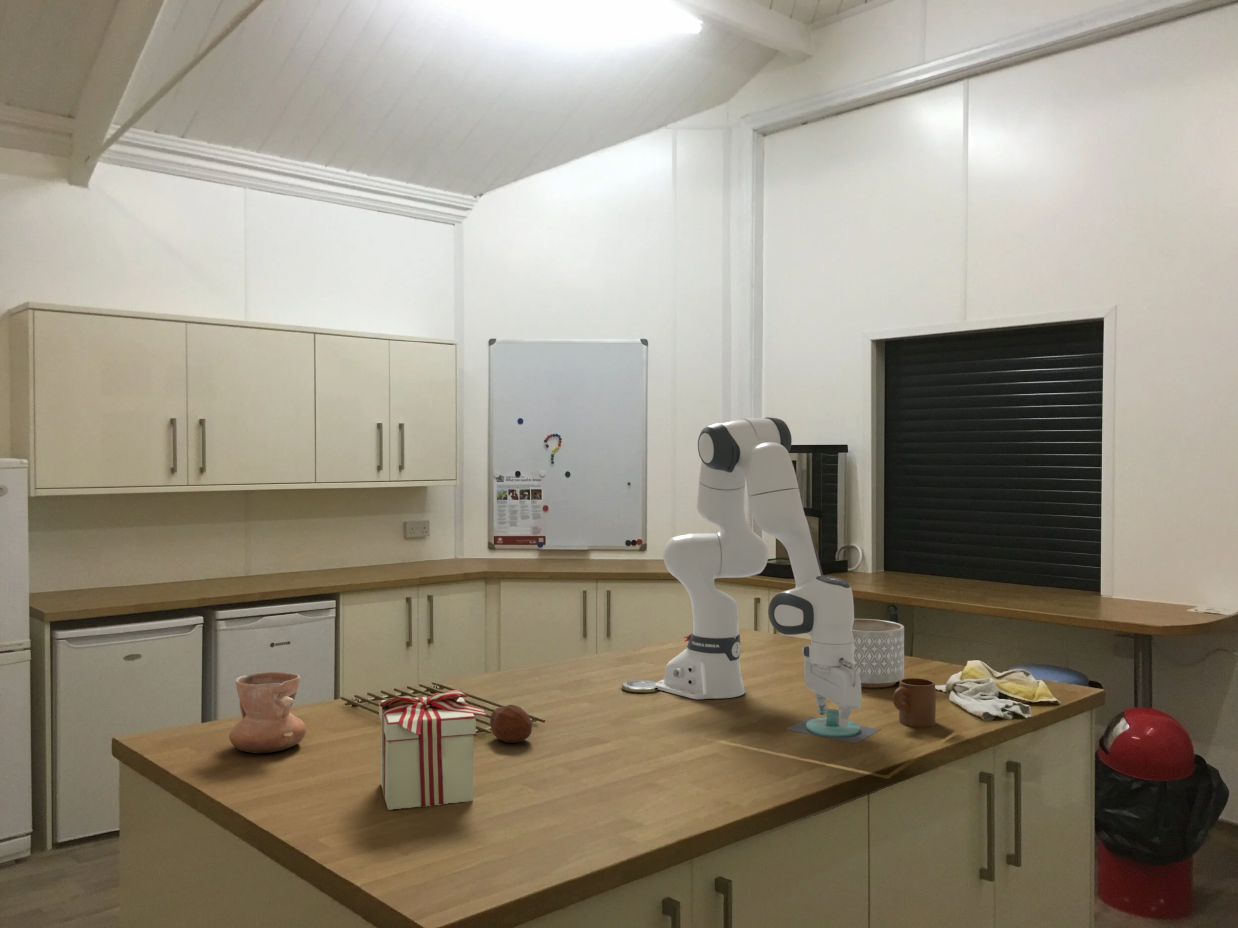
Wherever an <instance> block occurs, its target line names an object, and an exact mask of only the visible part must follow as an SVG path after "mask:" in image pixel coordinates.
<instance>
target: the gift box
mask: <svg viewBox="0 0 1238 928" xmlns="http://www.w3.org/2000/svg"><path fill="white" fill-rule="evenodd" d="M464 698H468V694H466V693H464V692H463V691H461V690H458V689H453V690H449V691H447V692H444V693H439V692H436V693H434V694H433V695H431V696H422V697H421V696H418V697H417V696H416V697H413V696H409V695H408V696H400V697H394V698H389V699H383V700H382V699H381V700H379V701H378V702H379V703H378V704H379V705H378V706H379V707H378V717H379V720H380V768H379V769H380V775H379V776H380V778H379V779H380V786H381V790H382V795H383V798H384V800H385V804H386V808H387V810H388V811H394V810H393V809H399V810H402V809H401V808H409V807H419V808H421V807H420V806H429V807H431V806H430V805H438V806H440V805H439V804H446V805H449V804H448V803H456V804H460V803H459V802H464V803H471V802H470V801H472V802H474V735H476V733H477V729H476V728H477V723H476V721H477V720H476V716H484V717H485V716H487V714H486V712H485V711H484V709H483V708H481V707H478V706H474V705H470V704H468V703H467V702H466V700H465V699H464ZM409 809H410V808H409Z"/></svg>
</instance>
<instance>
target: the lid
mask: <svg viewBox="0 0 1238 928" xmlns="http://www.w3.org/2000/svg"><path fill="white" fill-rule="evenodd" d="M839 714H840V710H839V709H836V708H828V710H827V715H826V717H819V718H818V717H816V718H817V719H812V720H809V721H807V723H806V729H807V730H808V731H809V732H811V733H813V734H817V735H821V736H828V737H848V736H854V735H856V734H858V733H859V732H860V726H861V725H860V724H859V723H857V722H856V721H852V720H849V719H848V726H847V727H841V726H839V725H838V724H837V717H839Z"/></svg>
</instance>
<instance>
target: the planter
mask: <svg viewBox="0 0 1238 928" xmlns="http://www.w3.org/2000/svg"><path fill="white" fill-rule="evenodd" d="M852 634H853V637H854V668H855V670H856V671H857V672H858V673H859V676H860V681H861V688H886V687H892V686H894V685H896V683H897V682H900V680H902V679H905V626H904V625H903V624H901V623H898V622H895V621H890V620H883V619H882V620H881V619H876V618H875V619H874V618H873V619H872V618H854V623H853V626H852Z"/></svg>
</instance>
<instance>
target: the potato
mask: <svg viewBox="0 0 1238 928" xmlns="http://www.w3.org/2000/svg"><path fill="white" fill-rule="evenodd" d="M489 723H490V728H491V731H492V734H493V735H494V737H495V738H497V739H498V740H500V741H503V742H505V743H508V744H509V743H510V744H515V743H520V742H523V741H525V740H526V739H528V738H529V737H530V736H531V733H532V730H533V729H532V728H533V724H532V719H531V718H530V716H529V714H528V713H527V712H526V710H525V709H523V708H522V707H520V706H519V705H515V704H506V705H505V706H500V707H496V708H495V709H494V710H493V711H492V712H491V715H490V719H489Z"/></svg>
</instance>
